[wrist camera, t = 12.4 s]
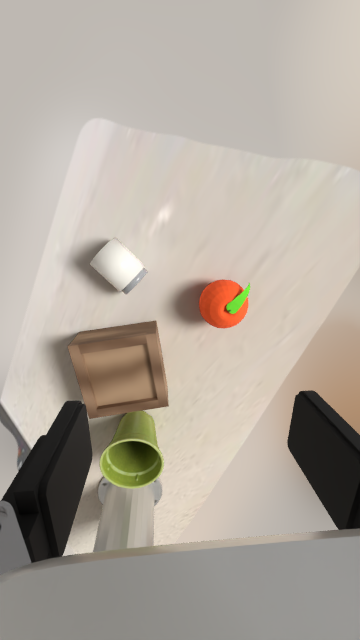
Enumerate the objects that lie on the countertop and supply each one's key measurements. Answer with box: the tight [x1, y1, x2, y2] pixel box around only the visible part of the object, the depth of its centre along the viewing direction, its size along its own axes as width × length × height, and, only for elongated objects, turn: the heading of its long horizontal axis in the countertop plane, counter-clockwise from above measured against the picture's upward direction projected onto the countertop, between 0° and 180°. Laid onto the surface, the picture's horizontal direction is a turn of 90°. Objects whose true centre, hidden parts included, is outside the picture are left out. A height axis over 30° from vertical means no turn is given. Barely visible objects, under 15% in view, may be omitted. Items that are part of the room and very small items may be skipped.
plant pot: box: [100, 411, 164, 489], centre depth 41 cm, size 9×9×9 cm
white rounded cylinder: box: [90, 237, 148, 294], centre depth 34 cm, size 5×5×6 cm
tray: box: [68, 321, 168, 419], centre depth 38 cm, size 12×12×6 cm
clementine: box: [199, 280, 250, 328], centre depth 35 cm, size 8×7×7 cm
